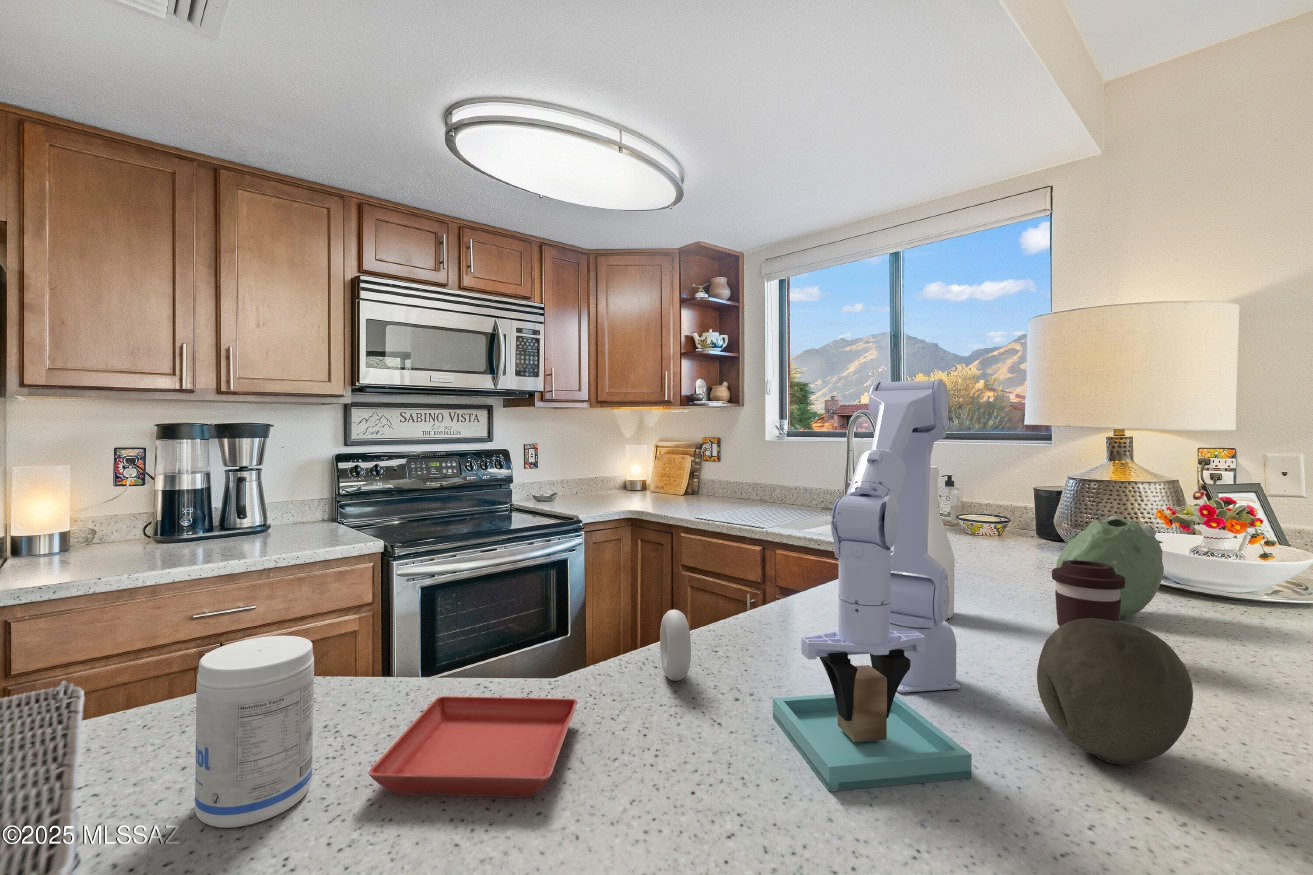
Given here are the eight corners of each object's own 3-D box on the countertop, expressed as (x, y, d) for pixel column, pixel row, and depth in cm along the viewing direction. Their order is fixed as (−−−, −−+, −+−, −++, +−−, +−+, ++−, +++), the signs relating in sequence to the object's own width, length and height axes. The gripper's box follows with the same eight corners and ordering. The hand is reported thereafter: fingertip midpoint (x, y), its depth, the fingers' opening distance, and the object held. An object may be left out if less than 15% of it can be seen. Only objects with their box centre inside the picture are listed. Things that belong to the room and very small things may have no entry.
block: (868, 722, 72) (869, 664, 72) (886, 739, 68) (887, 678, 68) (837, 725, 72) (838, 666, 72) (853, 741, 68) (854, 680, 68)
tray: (888, 709, 79) (888, 690, 79) (971, 777, 63) (971, 754, 63) (772, 717, 76) (773, 697, 76) (828, 791, 61) (829, 766, 61)
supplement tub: (183, 803, 58) (183, 651, 58) (292, 762, 65) (292, 627, 65) (211, 848, 52) (212, 678, 52) (329, 798, 59) (329, 648, 59)
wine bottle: (963, 621, 117) (964, 467, 117) (914, 621, 117) (915, 467, 117) (940, 607, 126) (941, 465, 126) (895, 607, 126) (896, 464, 126)
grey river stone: (1208, 806, 58) (1210, 653, 58) (1036, 763, 66) (1038, 627, 66) (1178, 744, 70) (1179, 616, 70) (1035, 713, 78) (1037, 598, 78)
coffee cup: (1058, 659, 97) (1059, 567, 97) (1045, 640, 106) (1046, 555, 106) (1133, 668, 93) (1134, 572, 93) (1112, 648, 103) (1113, 560, 103)
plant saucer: (437, 719, 76) (437, 693, 76) (578, 722, 76) (579, 696, 76) (364, 808, 58) (364, 774, 58) (549, 812, 57) (549, 778, 57)
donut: (693, 691, 84) (694, 620, 84) (669, 693, 83) (669, 621, 83) (679, 664, 94) (680, 601, 94) (657, 665, 93) (658, 601, 93)
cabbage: (1036, 607, 127) (1037, 513, 127) (1108, 602, 131) (1109, 511, 131) (1107, 630, 112) (1108, 523, 112) (1186, 624, 116) (1187, 521, 116)
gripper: (820, 611, 65) (819, 737, 65) (942, 606, 67) (941, 727, 67) (794, 594, 72) (793, 707, 72) (906, 590, 74) (905, 700, 74)
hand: (863, 715), depth 70 cm, fingers closed on block, 4 cm apart
